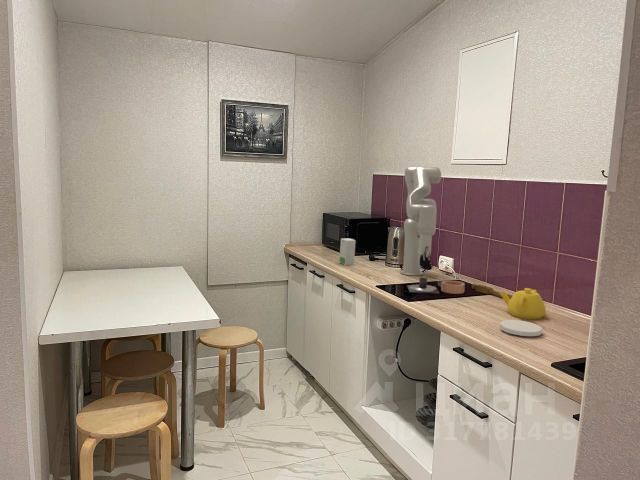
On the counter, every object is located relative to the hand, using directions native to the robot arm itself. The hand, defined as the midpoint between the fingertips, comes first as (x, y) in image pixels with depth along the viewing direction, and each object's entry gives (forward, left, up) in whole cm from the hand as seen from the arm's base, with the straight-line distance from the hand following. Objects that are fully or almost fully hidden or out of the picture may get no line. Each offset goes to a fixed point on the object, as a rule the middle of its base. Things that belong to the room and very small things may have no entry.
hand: (424, 267), depth 229 cm
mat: (-1, 0, -12) cm, 12 cm away
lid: (-1, 0, -11) cm, 11 cm away
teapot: (+33, +35, -12) cm, 50 cm away
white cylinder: (-62, -38, -12) cm, 73 cm away
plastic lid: (+57, +27, -12) cm, 65 cm away
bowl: (0, +14, -12) cm, 18 cm away
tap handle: (+3, +33, -12) cm, 35 cm away
